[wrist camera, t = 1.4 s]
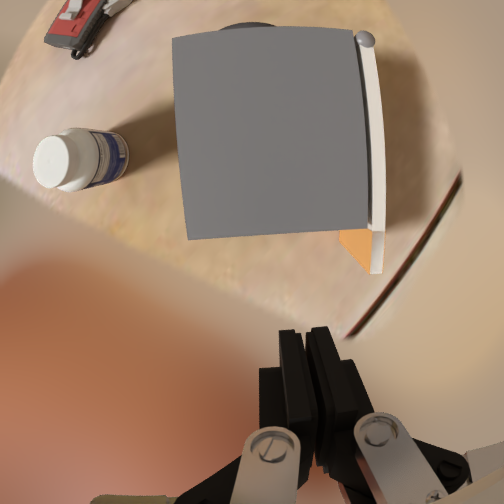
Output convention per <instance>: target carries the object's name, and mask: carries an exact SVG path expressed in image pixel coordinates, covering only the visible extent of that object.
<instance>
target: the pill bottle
mask: <svg viewBox="0 0 504 504" xmlns="http://www.w3.org/2000/svg"><path fill="white" fill-rule="evenodd" d="M128 161H129V150H128V146H127V144H126V142H125V140H124V139H123V138H122V137H121V136H120V135H118V134H116V133H114V132H109V131H102V130H93V129H85V128H70V129H67V130H64V131H63V132H61V133H60V134H58V135H51V136H48V137H46V138H44V139H43V140H42V141H41V142H40V143H39V145H38V147H37V148H36V151H35V153H34V158H33V171H34V174H35V177H36V179H37V181H38V182H39V183H40V184H41V185H42V186H44V187H46V188H55V187H57V188H58V189H60V190H62V191H65V192H75V191H79V190H83V189H86V188H91V187H95V186H99V185H103V184H107V183H111V182H113V181H115V180H117V179H118V178H119V177H120V176H121V175H122V174H123V173H124V171H125V170H126V168H127V165H128Z"/></svg>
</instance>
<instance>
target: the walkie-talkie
mask: <svg viewBox="0 0 504 504" xmlns="http://www.w3.org/2000/svg"><path fill="white" fill-rule="evenodd" d="M132 1H133V0H67V1H66V2H65V4H64V5H63V7H62V9H61V10H60V12H59V13H58V15H57V17H56V18H55V20H54V21H53V23H52V25H51V27H50V29H49V30H48V32H47V34H46V36H45V37H44V42H45V43H47V44H49V45H52V46H54V47H58V48H64V49H70V50H72V53H71V57H72V58H73V59H75V60H78V59H80V58H81V57H82V56H83V55H84V54H85V52H86V50H87V49H88V48H89V46H90V44H92V41H93V40H94V37H95V36H96V34H97V32H99V29H100V28H101V26H102V24H103V22H104V21H105V20H106V19H107V18H108V17H109V16H110V17H112V16H113V15H114V14H115V13H117V12H118V11H120V10H122V9H123V8H125V7H126V6H128V5H129V4H130V3H131V2H132ZM77 51H80V52H79V54H78V55H77V56H76V53H77Z"/></svg>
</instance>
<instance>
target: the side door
mask: <svg viewBox="0 0 504 504" xmlns="http://www.w3.org/2000/svg"><path fill="white" fill-rule="evenodd" d="M354 42H355V48H356V54H357V60H358V66H359V74H360V81H361V89H362V98H363V108H364V119H365V131H366V148H367V172H368V229H351V230H340V233H339V242H340V243H341V244H342V245H343V246H344V247H345V248H346V249H347V251H348V252H349V253H350V254H351V255H352V256H353V257H354V258H355V259H356V260H357V261H358V262H359V264H360V265H361V266H362V267H363V268H364V269H365V270H366V271H367V272H368V274H379V273H383V264H384V250H385V233H386V231H385V217H386V164H385V141H384V126H383V114H382V104H381V95H380V87H379V79H378V72H377V66H376V60H375V54H374V48H373V46H374V44H375V38H374V37H373V35H372V34H371V33H369V32H367V31H359V32H358V33H357V34H356V35H355V37H354Z"/></svg>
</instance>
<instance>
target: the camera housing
mask: <svg viewBox="0 0 504 504" xmlns="http://www.w3.org/2000/svg"><path fill="white" fill-rule="evenodd" d="M172 60H173V86H174V105H175V120H176V134H177V146H178V158H179V168H180V178H181V188H182V197H183V205H184V214H185V222H186V229H187V237H188V240H198V239H211V238H225V237H239V236H253V235H268V234H284V233H299V232H316V231H333V230H351V229H368V172H367V148H366V131H365V119H364V108H363V98H362V89H361V81H360V74H359V66H358V60H357V54H356V48H355V42H354V36H353V31H352V30H345V29H335V28H322V27H296V26H278V27H277V26H274V25H271V24H267V23H259V22H247V23H239V24H234V25H230V26H227V27H225V28H222V29H220V30H219V31H211V32H204V33H198V34H192V35H186V36H181V37H176V38H172Z"/></svg>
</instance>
